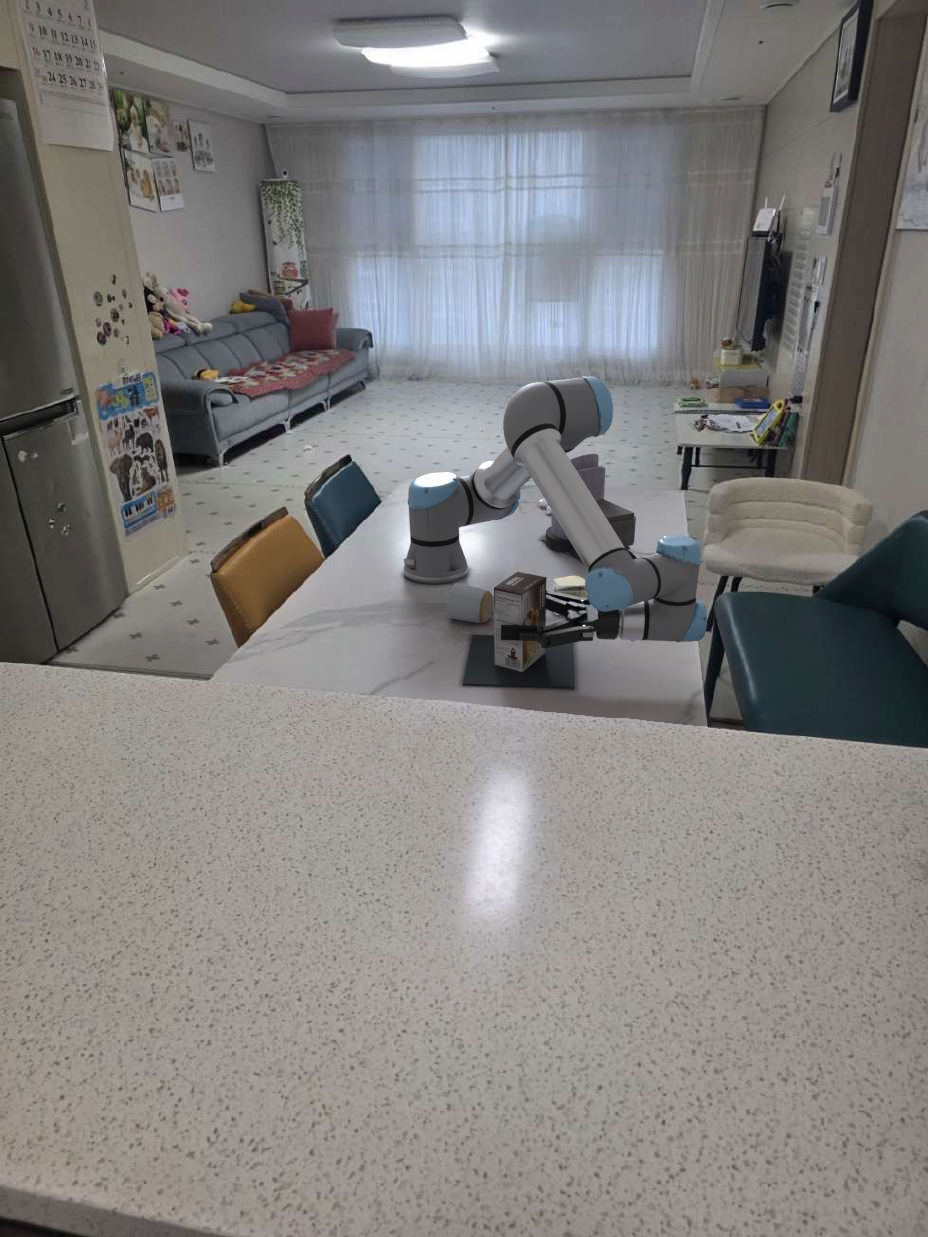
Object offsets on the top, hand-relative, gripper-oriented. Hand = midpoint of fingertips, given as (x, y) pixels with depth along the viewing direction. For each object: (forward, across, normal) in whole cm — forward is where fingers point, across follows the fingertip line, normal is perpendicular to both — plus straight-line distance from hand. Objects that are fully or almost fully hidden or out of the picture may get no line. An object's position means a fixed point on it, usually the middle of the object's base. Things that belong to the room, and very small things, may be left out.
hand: (502, 616), depth 153 cm
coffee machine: (-18, +62, -9) cm, 65 cm away
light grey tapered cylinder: (+8, +19, -10) cm, 23 cm away
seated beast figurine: (-10, +96, -10) cm, 97 cm away
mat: (-3, 0, -9) cm, 10 cm away
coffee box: (-3, 0, -9) cm, 10 cm away
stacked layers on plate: (-13, +27, -9) cm, 32 cm away
